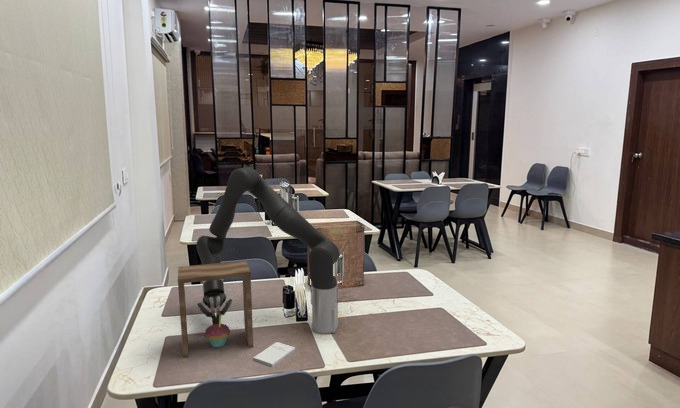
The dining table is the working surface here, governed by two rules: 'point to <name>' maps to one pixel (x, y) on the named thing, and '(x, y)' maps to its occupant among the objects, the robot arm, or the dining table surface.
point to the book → (346, 249)
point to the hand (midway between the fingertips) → (216, 326)
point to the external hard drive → (274, 354)
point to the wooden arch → (215, 273)
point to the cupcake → (217, 334)
